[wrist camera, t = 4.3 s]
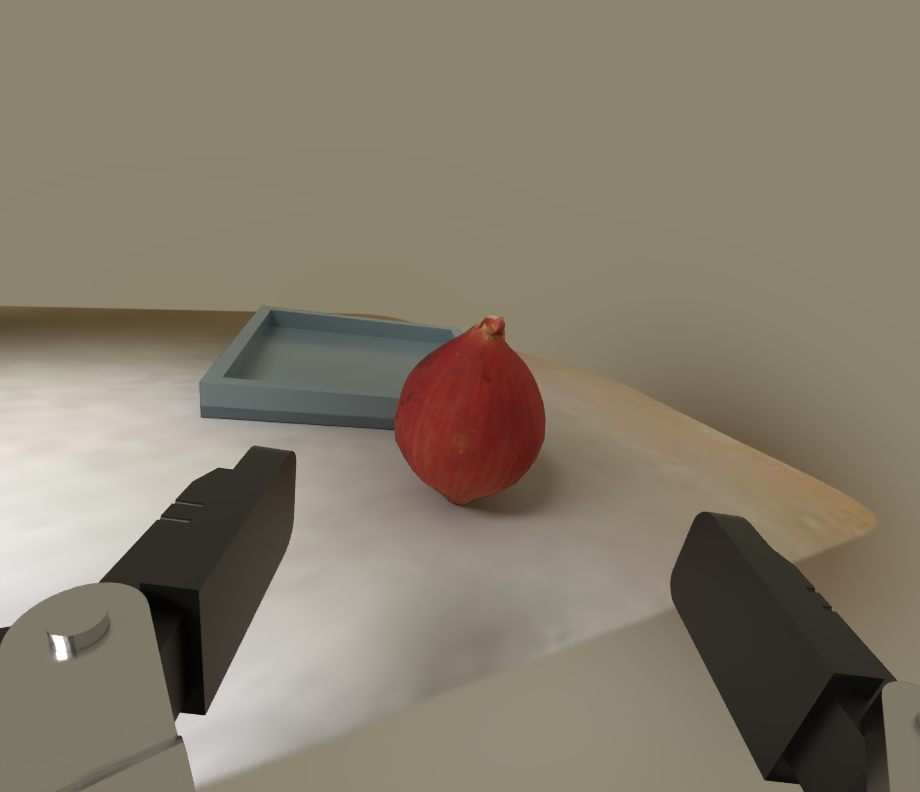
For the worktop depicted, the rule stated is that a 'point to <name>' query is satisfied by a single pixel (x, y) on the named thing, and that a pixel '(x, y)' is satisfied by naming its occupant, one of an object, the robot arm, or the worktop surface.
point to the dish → (317, 368)
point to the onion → (471, 415)
